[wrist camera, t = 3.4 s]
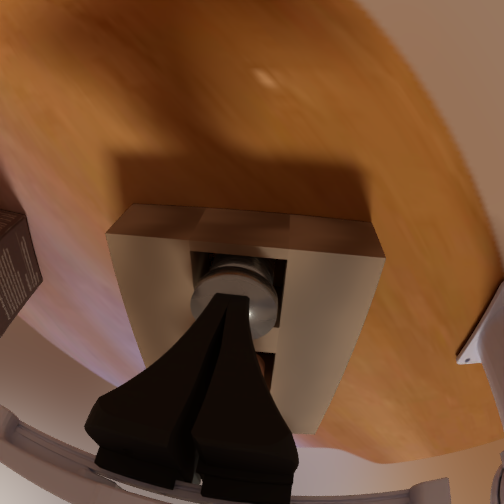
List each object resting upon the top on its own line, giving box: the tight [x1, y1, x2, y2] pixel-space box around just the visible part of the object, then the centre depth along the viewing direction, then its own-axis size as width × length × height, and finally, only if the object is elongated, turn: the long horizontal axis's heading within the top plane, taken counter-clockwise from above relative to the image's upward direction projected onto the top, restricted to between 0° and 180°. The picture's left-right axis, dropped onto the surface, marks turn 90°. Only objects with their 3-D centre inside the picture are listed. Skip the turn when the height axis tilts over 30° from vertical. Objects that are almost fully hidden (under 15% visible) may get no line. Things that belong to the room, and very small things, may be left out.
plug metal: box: [190, 253, 278, 340], centre depth 14 cm, size 4×4×4 cm
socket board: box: [105, 204, 386, 434], centre depth 18 cm, size 12×17×3 cm
